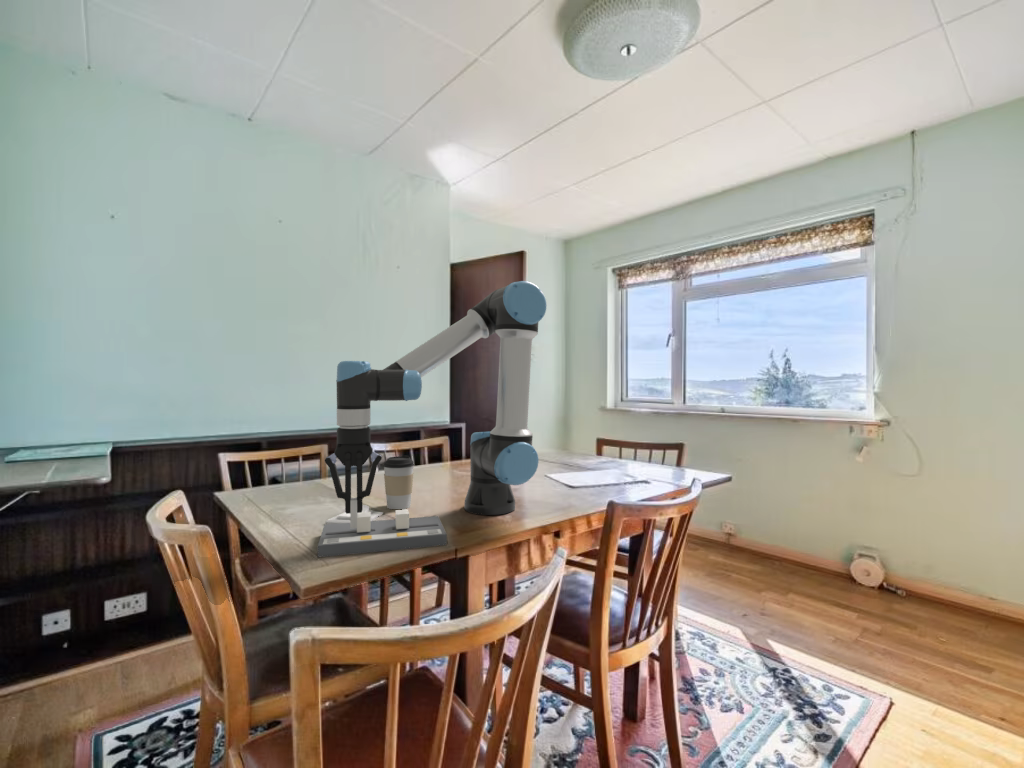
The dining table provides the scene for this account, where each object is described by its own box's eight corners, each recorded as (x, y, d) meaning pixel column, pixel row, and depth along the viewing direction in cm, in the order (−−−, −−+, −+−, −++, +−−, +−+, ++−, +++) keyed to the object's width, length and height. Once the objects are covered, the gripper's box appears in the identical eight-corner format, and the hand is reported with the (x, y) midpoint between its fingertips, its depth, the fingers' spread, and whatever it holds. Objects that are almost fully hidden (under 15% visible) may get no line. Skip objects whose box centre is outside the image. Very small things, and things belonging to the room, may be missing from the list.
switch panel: (438, 525, 125) (438, 515, 125) (446, 544, 110) (446, 533, 110) (324, 534, 117) (324, 523, 117) (317, 557, 102) (317, 544, 102)
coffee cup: (398, 512, 136) (398, 460, 136) (376, 507, 141) (376, 457, 141) (420, 505, 144) (420, 456, 144) (398, 501, 149) (398, 453, 148)
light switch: (384, 503, 136) (364, 513, 123) (383, 517, 136) (364, 529, 123) (348, 501, 137) (325, 511, 125) (347, 516, 137) (324, 527, 124)
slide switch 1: (370, 526, 115) (370, 511, 115) (370, 531, 111) (370, 516, 111) (357, 527, 114) (357, 512, 114) (357, 532, 110) (357, 517, 110)
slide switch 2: (407, 523, 117) (407, 509, 117) (409, 528, 113) (409, 513, 113) (395, 524, 116) (395, 510, 116) (396, 529, 112) (396, 514, 112)
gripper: (382, 424, 117) (382, 519, 117) (325, 425, 113) (325, 523, 113) (382, 427, 109) (382, 528, 110) (322, 429, 106) (322, 534, 106)
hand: (354, 526), depth 112 cm, fingers closed
